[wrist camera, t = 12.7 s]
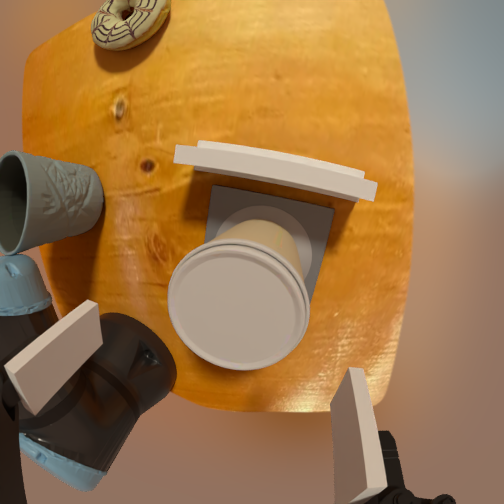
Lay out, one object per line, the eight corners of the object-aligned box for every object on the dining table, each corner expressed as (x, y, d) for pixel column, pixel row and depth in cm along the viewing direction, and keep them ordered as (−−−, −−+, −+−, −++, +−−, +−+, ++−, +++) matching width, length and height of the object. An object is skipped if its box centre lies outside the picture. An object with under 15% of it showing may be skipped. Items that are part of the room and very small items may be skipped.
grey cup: (106, 152, 28) (29, 135, 17) (113, 236, 29) (33, 251, 18) (54, 173, 30) (-14, 168, 18) (60, 245, 31) (-10, 260, 20)
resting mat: (305, 315, 30) (305, 318, 30) (200, 291, 31) (198, 294, 31) (333, 208, 26) (334, 209, 26) (214, 184, 27) (212, 185, 27)
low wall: (356, 201, 26) (371, 211, 20) (197, 169, 27) (172, 171, 22) (362, 171, 25) (379, 173, 19) (201, 140, 26) (177, 135, 21)
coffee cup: (241, 310, 30) (210, 385, 19) (198, 235, 29) (138, 280, 17) (321, 277, 28) (332, 349, 16) (280, 193, 26) (265, 214, 15)
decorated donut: (125, -10, 21) (111, -21, 17) (190, -11, 21) (179, -26, 17) (91, 52, 24) (73, 45, 21) (152, 58, 24) (136, 47, 21)
